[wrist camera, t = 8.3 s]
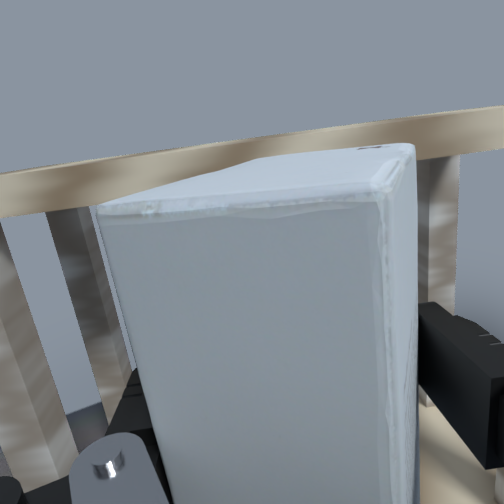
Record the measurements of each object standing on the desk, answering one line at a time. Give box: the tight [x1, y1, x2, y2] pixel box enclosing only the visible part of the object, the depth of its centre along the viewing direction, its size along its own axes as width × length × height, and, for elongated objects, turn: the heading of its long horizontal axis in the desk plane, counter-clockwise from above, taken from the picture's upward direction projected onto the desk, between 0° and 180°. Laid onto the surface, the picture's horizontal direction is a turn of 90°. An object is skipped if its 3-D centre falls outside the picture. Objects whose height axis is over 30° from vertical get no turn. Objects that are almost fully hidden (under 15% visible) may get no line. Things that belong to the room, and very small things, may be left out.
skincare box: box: [96, 143, 420, 504], centre depth 9 cm, size 6×4×12 cm
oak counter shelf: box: [0, 105, 504, 504], centre depth 23 cm, size 27×12×24 cm, turn 93°
